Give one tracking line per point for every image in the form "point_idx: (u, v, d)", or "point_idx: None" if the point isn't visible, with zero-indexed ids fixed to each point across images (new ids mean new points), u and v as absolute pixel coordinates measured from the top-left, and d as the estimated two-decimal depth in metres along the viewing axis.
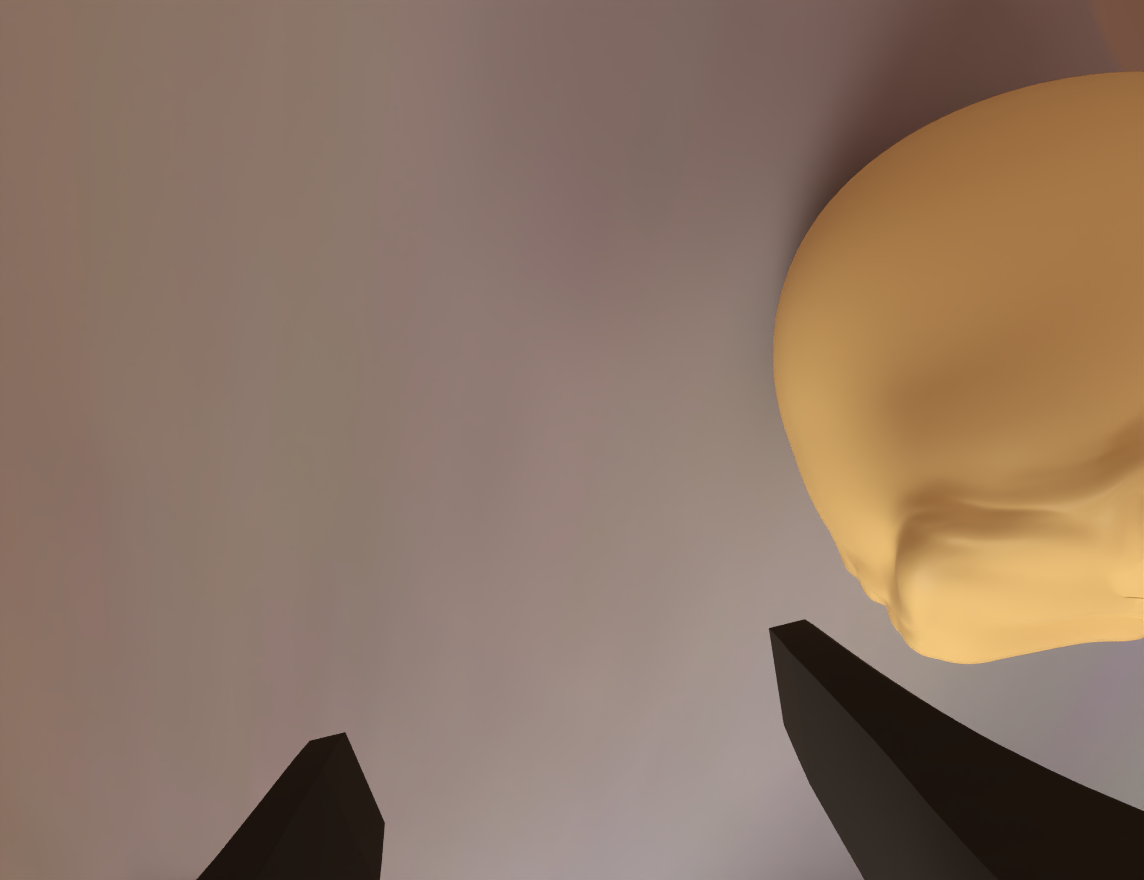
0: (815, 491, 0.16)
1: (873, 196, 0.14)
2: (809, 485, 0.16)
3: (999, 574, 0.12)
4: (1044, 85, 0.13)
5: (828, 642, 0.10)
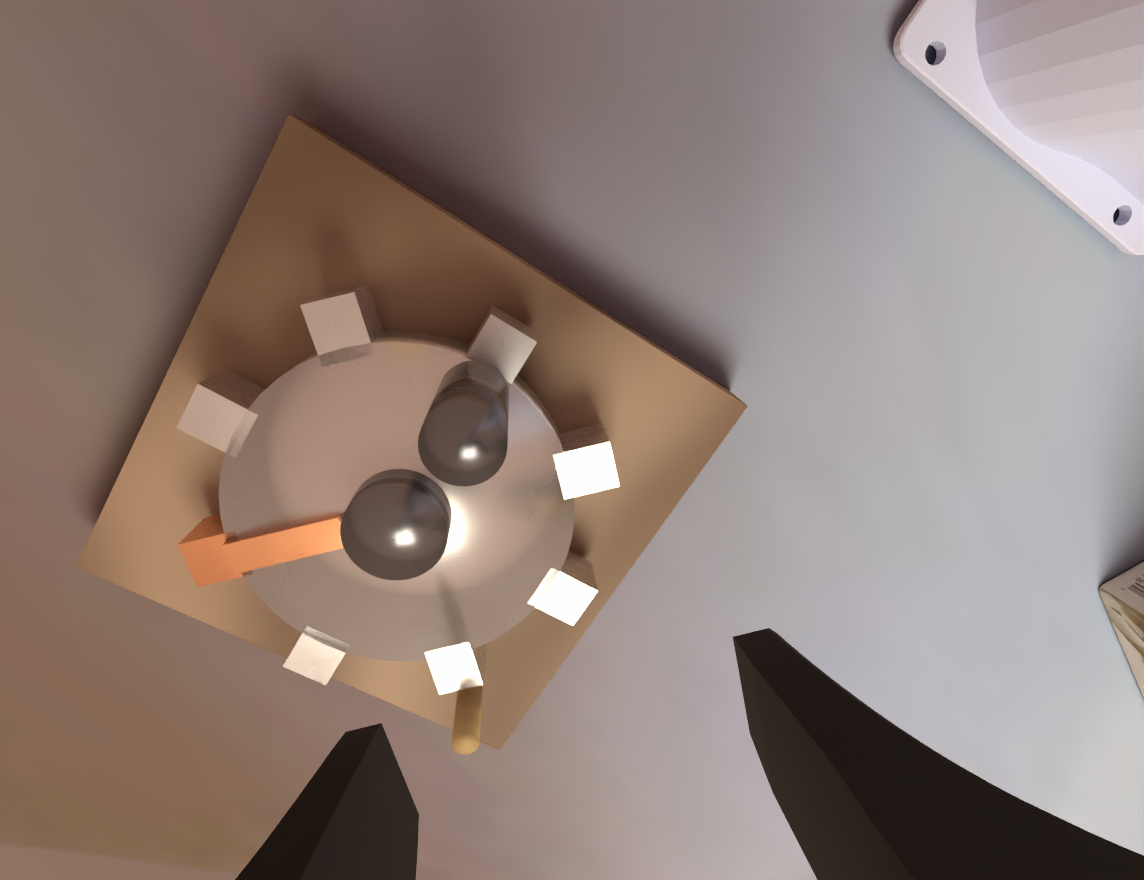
0: None
1: None
2: None
3: None
4: None
5: (788, 651, 0.10)
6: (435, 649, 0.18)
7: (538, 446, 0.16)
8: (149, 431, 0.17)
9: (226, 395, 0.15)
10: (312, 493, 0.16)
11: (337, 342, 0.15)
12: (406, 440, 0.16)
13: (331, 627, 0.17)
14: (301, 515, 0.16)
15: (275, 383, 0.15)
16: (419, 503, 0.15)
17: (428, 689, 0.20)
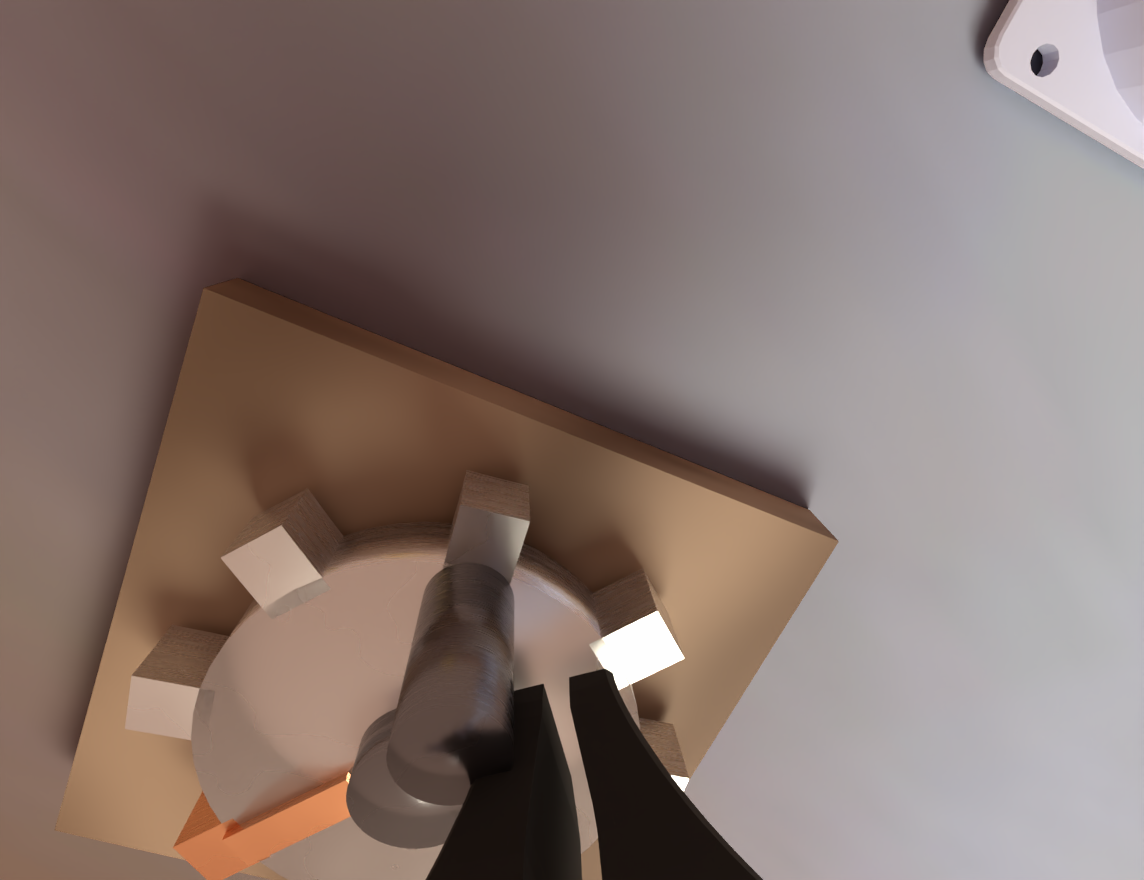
0: None
1: None
2: None
3: None
4: None
5: (609, 696, 0.10)
6: None
7: (567, 639, 0.12)
8: (108, 676, 0.14)
9: (171, 675, 0.12)
10: (308, 757, 0.13)
11: (280, 587, 0.11)
12: (401, 674, 0.12)
13: None
14: (304, 783, 0.13)
15: (222, 651, 0.12)
16: None
17: None
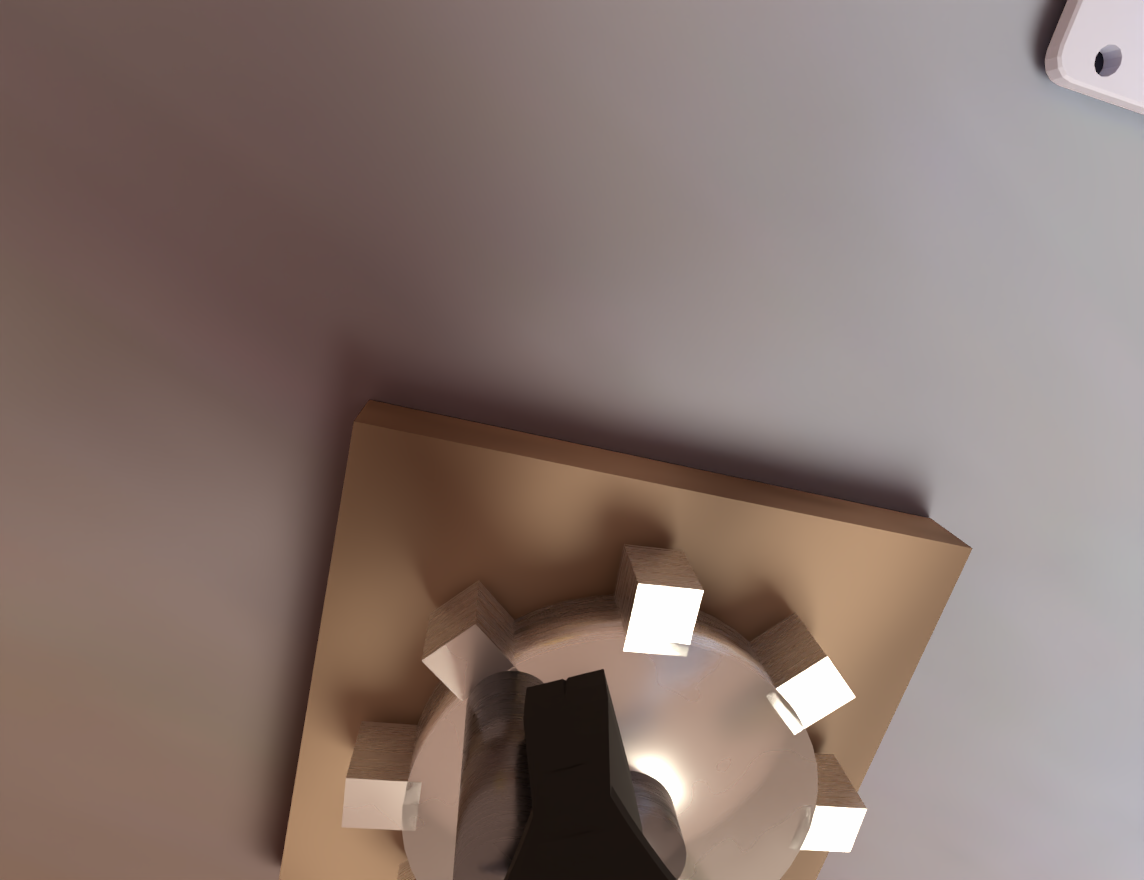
0: None
1: None
2: None
3: None
4: None
5: (561, 708, 0.10)
6: (792, 838, 0.14)
7: (604, 662, 0.12)
8: (304, 784, 0.15)
9: None
10: None
11: (394, 809, 0.13)
12: None
13: None
14: None
15: (415, 873, 0.14)
16: None
17: None
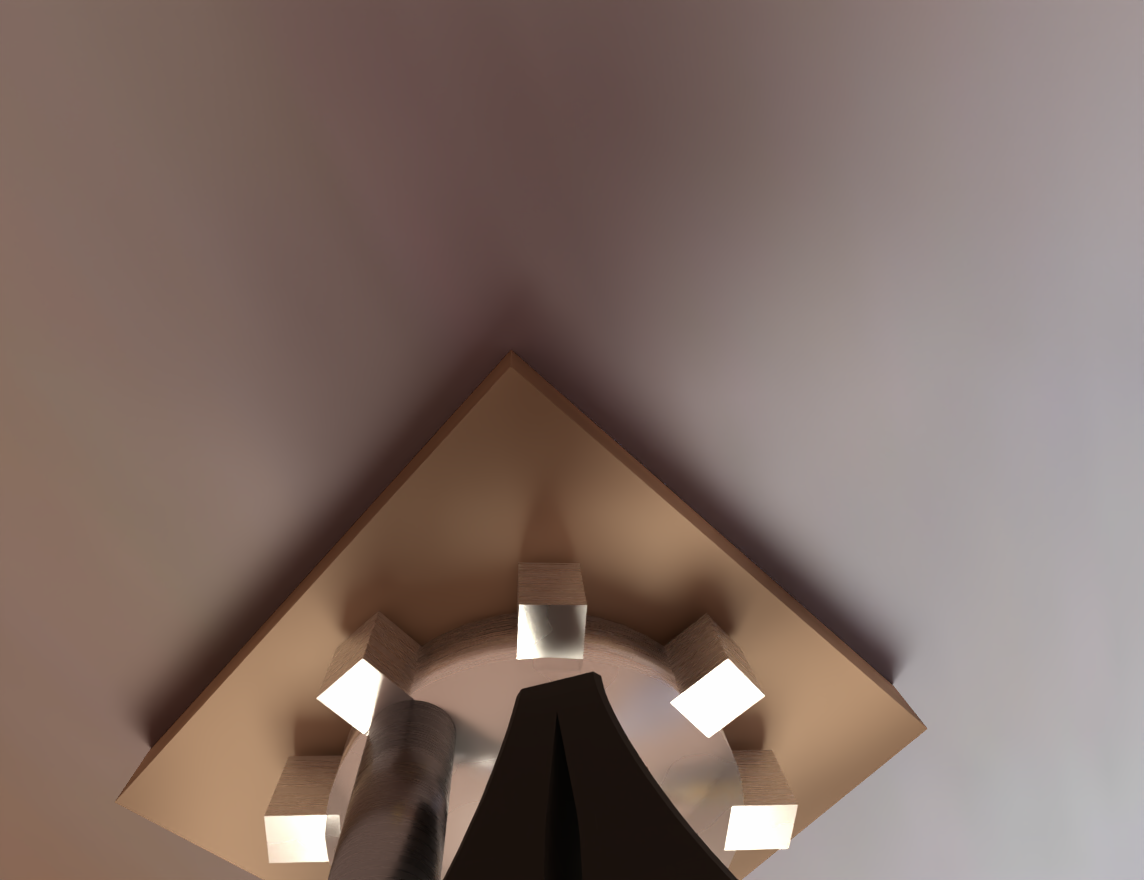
0: None
1: None
2: None
3: None
4: None
5: (595, 700, 0.10)
6: (726, 839, 0.14)
7: (499, 684, 0.12)
8: (246, 673, 0.14)
9: None
10: None
11: (317, 842, 0.13)
12: (449, 809, 0.13)
13: None
14: None
15: None
16: None
17: None
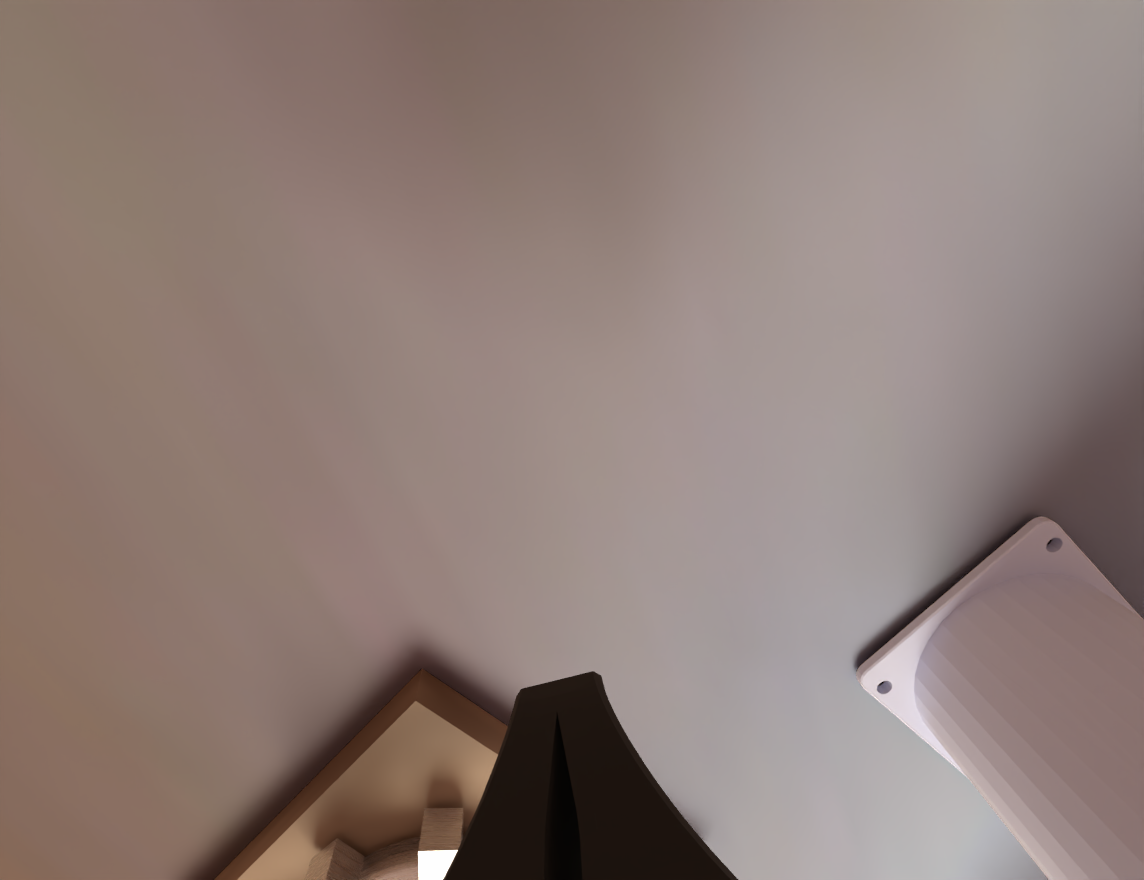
0: None
1: None
2: None
3: None
4: None
5: (595, 700, 0.10)
6: None
7: None
8: (253, 871, 0.22)
9: None
10: None
11: None
12: None
13: None
14: None
15: None
16: None
17: None
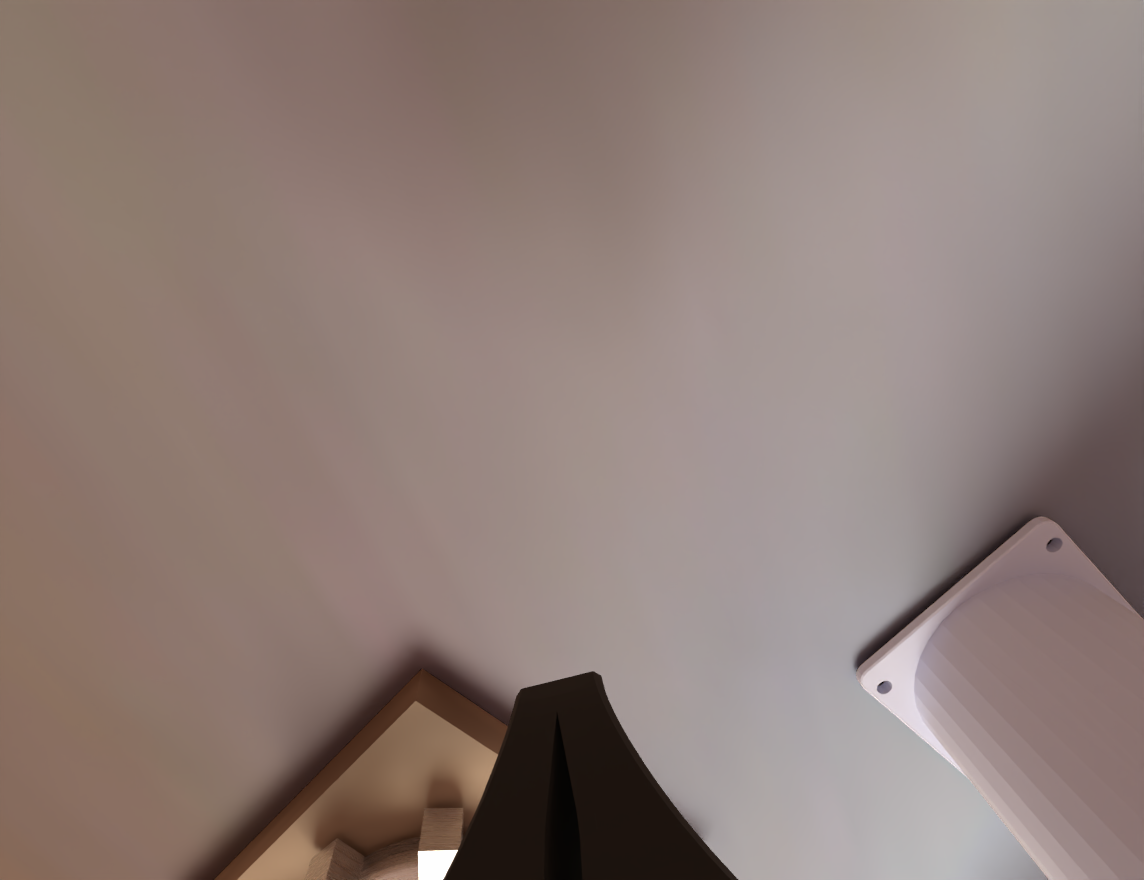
0: None
1: None
2: None
3: None
4: None
5: (595, 700, 0.10)
6: None
7: None
8: (253, 871, 0.22)
9: None
10: None
11: None
12: None
13: None
14: None
15: None
16: None
17: None
